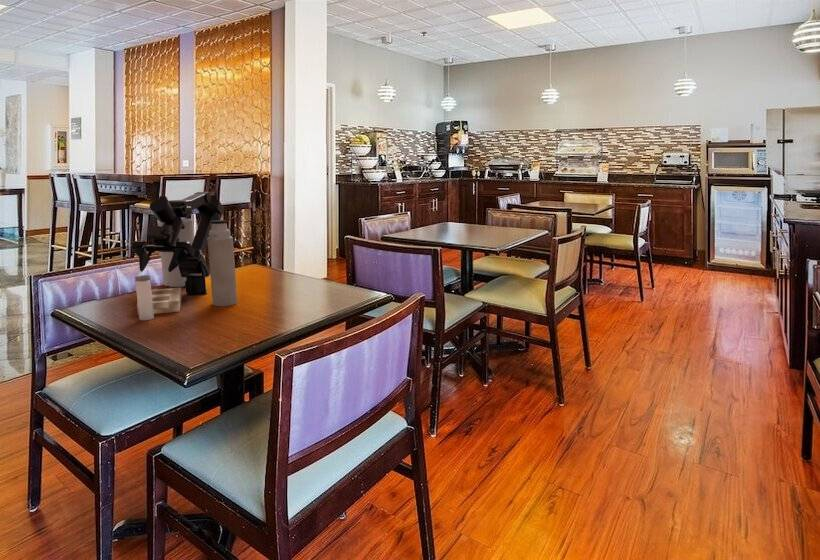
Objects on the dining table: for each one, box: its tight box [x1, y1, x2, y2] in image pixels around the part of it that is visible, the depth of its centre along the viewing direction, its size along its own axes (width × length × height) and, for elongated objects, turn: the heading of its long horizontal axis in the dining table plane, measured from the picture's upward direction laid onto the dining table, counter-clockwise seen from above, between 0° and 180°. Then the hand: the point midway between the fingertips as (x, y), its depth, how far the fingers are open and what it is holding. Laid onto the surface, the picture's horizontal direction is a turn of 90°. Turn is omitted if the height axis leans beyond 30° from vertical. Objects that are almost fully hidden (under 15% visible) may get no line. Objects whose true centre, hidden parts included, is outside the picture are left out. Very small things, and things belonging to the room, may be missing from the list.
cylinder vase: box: [156, 218, 195, 288], centre depth 209 cm, size 12×12×25 cm
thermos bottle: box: [207, 219, 238, 307], centre depth 180 cm, size 8×8×28 cm
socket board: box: [136, 287, 183, 316], centre depth 179 cm, size 12×20×5 cm, turn 20°
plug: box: [134, 274, 155, 321], centre depth 163 cm, size 4×4×13 cm
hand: (155, 271), depth 169 cm, fingers open, 9 cm apart
